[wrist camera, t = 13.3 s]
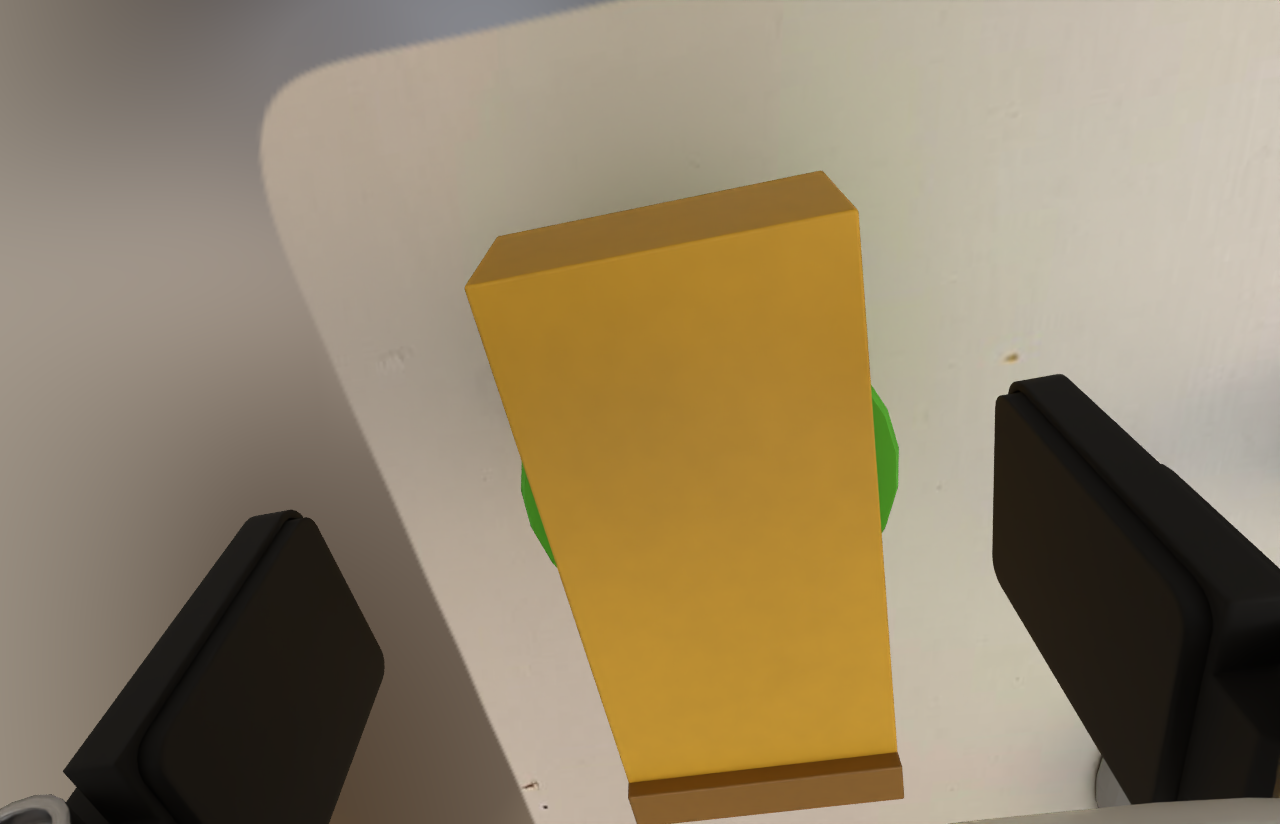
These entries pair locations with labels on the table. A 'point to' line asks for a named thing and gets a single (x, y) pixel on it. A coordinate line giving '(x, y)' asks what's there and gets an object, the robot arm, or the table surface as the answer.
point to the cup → (884, 458)
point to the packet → (709, 487)
